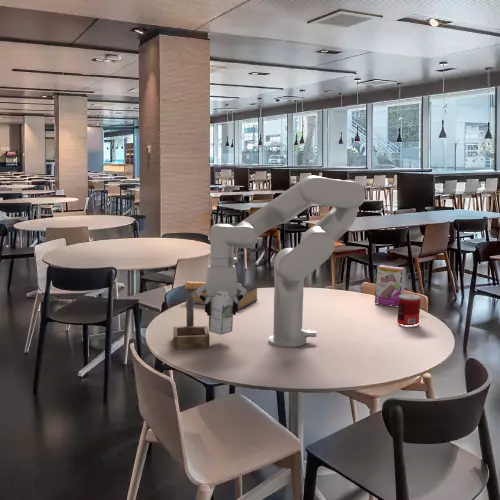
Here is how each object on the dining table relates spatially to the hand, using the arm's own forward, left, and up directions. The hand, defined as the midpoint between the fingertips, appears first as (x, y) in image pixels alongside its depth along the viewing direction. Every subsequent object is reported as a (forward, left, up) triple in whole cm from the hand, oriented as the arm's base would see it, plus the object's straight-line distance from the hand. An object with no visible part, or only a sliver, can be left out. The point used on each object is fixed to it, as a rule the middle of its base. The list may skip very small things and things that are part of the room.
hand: (221, 314), depth 189 cm
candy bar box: (-75, -43, -10) cm, 87 cm away
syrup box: (0, 0, -6) cm, 6 cm away
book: (-5, -54, -10) cm, 55 cm away
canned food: (-71, -14, -10) cm, 73 cm away
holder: (+10, -3, -10) cm, 14 cm away
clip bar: (+4, -9, +7) cm, 12 cm away
